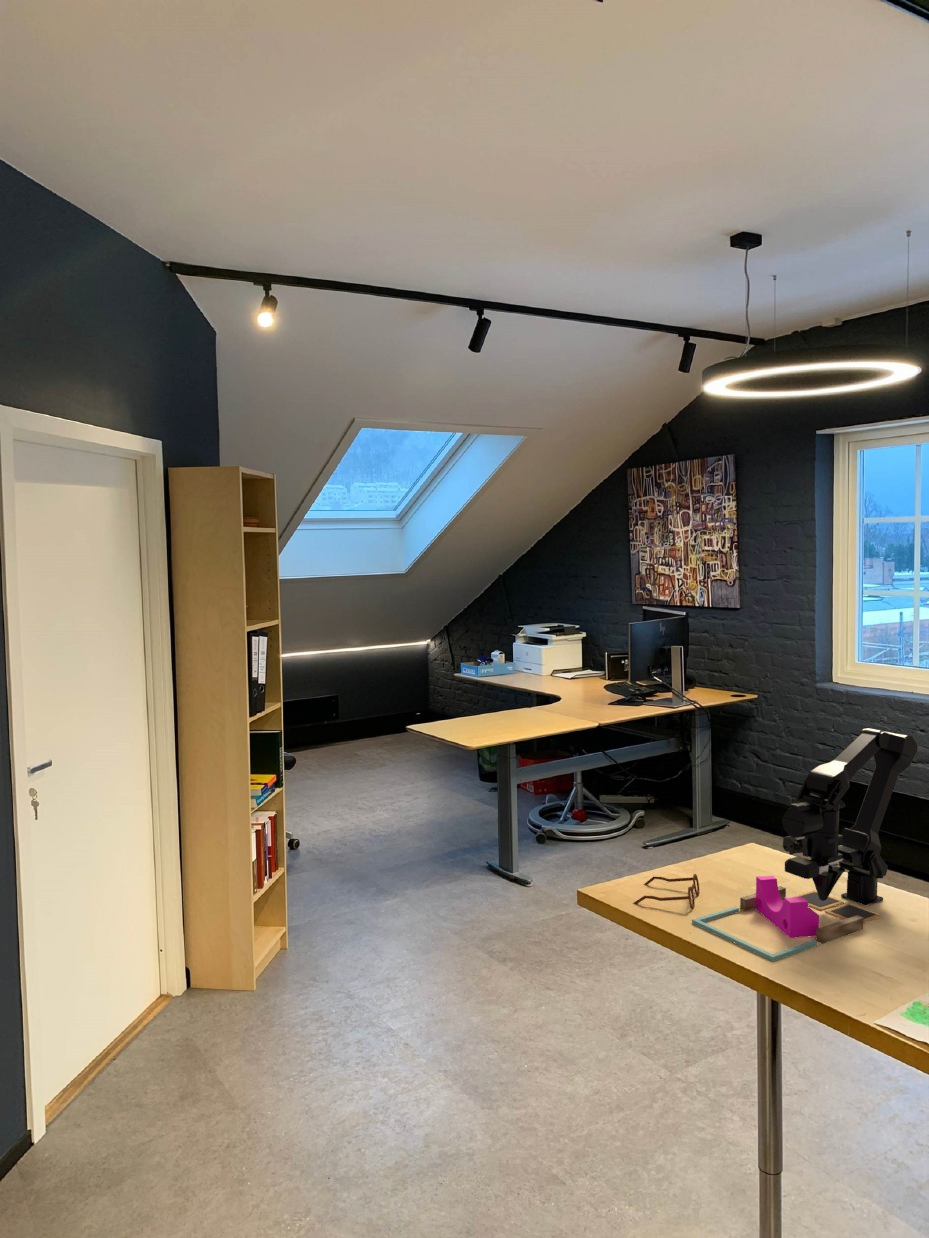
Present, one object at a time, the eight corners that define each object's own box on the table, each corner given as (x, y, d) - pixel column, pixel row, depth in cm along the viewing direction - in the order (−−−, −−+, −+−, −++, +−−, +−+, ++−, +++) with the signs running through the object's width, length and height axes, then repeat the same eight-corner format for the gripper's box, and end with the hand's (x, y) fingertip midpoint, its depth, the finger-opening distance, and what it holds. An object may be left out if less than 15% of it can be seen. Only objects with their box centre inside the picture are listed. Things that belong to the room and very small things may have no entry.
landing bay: (735, 910, 196) (735, 906, 196) (817, 945, 178) (817, 941, 178) (692, 923, 189) (692, 919, 189) (772, 961, 171) (772, 957, 171)
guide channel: (780, 896, 203) (780, 886, 203) (863, 929, 185) (863, 917, 185) (740, 908, 197) (740, 897, 196) (822, 943, 179) (822, 931, 178)
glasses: (692, 914, 195) (692, 891, 195) (632, 905, 200) (632, 883, 200) (700, 892, 208) (700, 871, 207) (643, 885, 212) (643, 864, 212)
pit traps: (813, 891, 206) (813, 889, 206) (881, 916, 192) (881, 914, 192) (790, 898, 202) (790, 897, 202) (857, 924, 188) (857, 923, 188)
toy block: (818, 936, 183) (819, 900, 182) (789, 938, 182) (790, 902, 181) (782, 908, 197) (783, 874, 197) (755, 909, 196) (756, 876, 196)
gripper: (820, 813, 205) (819, 880, 206) (764, 826, 196) (763, 896, 197) (864, 826, 196) (862, 896, 197) (807, 840, 186) (806, 913, 187)
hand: (822, 900), depth 195 cm, fingers closed
